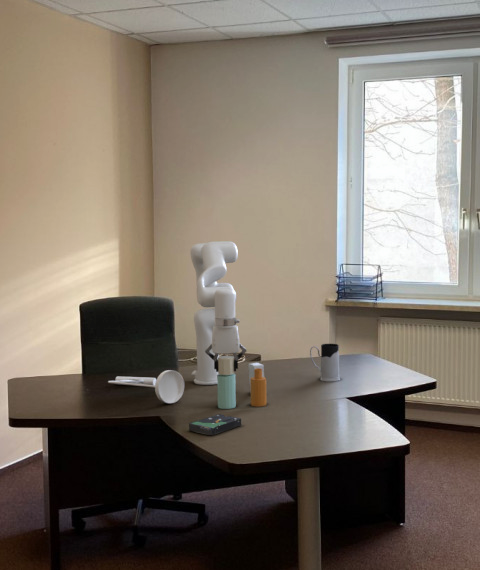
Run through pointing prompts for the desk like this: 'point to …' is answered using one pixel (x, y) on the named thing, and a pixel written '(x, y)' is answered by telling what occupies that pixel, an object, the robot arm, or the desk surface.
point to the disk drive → (214, 424)
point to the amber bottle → (258, 388)
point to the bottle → (226, 391)
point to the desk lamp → (158, 385)
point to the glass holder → (328, 362)
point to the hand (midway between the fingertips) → (226, 370)
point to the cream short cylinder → (226, 365)
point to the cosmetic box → (251, 370)
